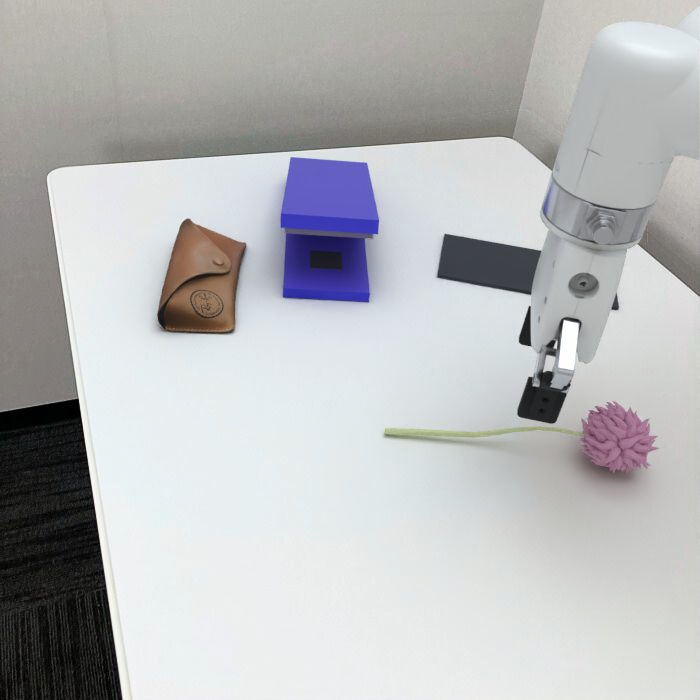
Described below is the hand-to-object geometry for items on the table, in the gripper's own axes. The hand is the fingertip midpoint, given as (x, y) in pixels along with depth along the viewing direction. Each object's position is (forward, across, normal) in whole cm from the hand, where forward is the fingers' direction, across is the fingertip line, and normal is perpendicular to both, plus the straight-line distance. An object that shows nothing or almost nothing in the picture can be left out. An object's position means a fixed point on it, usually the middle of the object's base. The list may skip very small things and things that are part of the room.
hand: (535, 379), depth 67 cm
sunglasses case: (+10, +17, +36) cm, 41 cm away
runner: (+9, +32, -1) cm, 33 cm away
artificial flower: (+10, 0, 0) cm, 10 cm away
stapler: (+10, +32, +25) cm, 42 cm away
